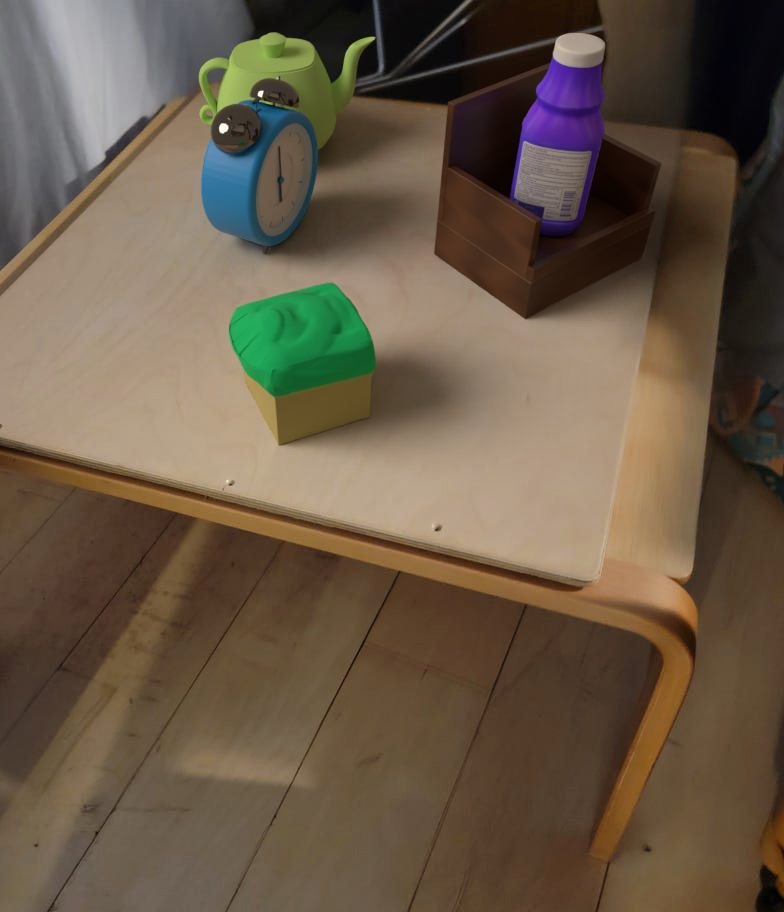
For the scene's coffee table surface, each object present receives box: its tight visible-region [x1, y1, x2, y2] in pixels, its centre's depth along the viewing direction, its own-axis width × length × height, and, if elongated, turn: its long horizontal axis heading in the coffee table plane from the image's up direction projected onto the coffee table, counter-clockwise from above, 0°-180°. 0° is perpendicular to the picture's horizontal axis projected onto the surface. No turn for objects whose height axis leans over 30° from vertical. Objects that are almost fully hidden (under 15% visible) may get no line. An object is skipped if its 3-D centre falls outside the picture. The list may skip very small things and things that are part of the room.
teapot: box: [198, 31, 376, 151], centre depth 103 cm, size 16×14×13 cm
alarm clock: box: [200, 75, 319, 255], centre depth 90 cm, size 13×6×15 cm, turn 150°
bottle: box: [510, 32, 606, 236], centre depth 82 cm, size 7×6×17 cm
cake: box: [228, 281, 377, 446], centre depth 74 cm, size 10×11×10 cm
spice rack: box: [433, 62, 663, 320], centre depth 85 cm, size 13×16×16 cm
